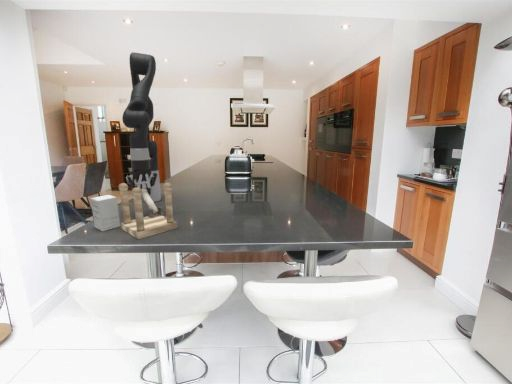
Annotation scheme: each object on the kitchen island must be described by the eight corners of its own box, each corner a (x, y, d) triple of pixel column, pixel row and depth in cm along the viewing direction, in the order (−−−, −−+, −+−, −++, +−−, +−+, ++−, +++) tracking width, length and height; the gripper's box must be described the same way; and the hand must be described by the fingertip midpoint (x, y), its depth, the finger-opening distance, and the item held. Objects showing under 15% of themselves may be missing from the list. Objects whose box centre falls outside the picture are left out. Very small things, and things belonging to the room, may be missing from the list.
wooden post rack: (121, 228, 107) (115, 183, 103) (159, 218, 119) (156, 177, 115) (138, 239, 97) (133, 189, 93) (179, 227, 109) (176, 182, 105)
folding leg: (150, 214, 115) (137, 192, 121) (158, 213, 117) (144, 190, 123) (152, 209, 113) (138, 186, 119) (160, 208, 115) (146, 185, 121)
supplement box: (113, 222, 114) (109, 194, 112) (120, 226, 110) (117, 196, 107) (94, 227, 109) (89, 197, 106) (101, 231, 104) (97, 200, 101)
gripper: (151, 156, 124) (154, 192, 128) (120, 159, 114) (124, 197, 118) (159, 158, 119) (162, 195, 123) (127, 160, 109) (131, 201, 113)
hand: (143, 196), depth 121 cm, fingers closed on folding leg, 3 cm apart
